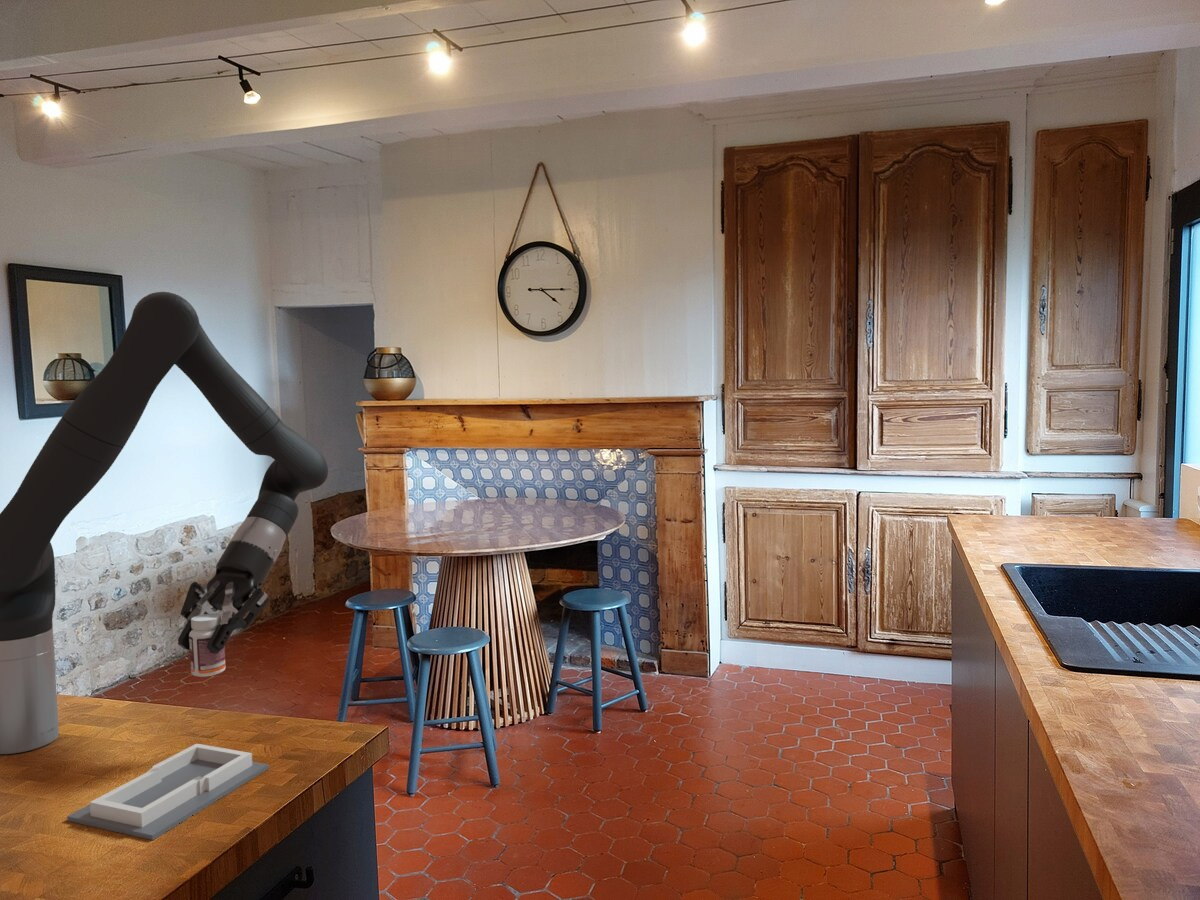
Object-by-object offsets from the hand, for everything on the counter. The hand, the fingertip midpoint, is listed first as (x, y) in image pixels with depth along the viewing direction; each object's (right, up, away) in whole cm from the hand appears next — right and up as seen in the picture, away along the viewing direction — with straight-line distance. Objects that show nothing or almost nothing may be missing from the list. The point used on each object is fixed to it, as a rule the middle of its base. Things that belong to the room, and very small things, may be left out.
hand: (197, 648), depth 125 cm
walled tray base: (+2, -17, -11) cm, 20 cm away
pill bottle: (+1, -4, +2) cm, 5 cm away
